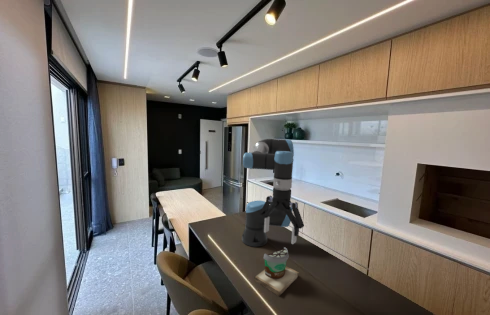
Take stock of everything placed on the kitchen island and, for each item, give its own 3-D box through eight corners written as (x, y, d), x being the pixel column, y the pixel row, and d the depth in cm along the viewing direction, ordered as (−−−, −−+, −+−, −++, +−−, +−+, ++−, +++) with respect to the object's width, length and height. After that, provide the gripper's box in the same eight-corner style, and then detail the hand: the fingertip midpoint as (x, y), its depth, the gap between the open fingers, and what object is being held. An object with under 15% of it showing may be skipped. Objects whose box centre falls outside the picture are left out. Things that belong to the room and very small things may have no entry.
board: (254, 281, 85) (254, 276, 85) (275, 264, 97) (275, 260, 97) (279, 296, 77) (279, 291, 77) (298, 276, 89) (298, 272, 89)
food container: (271, 284, 81) (272, 261, 80) (262, 275, 86) (263, 253, 85) (293, 275, 87) (295, 253, 86) (284, 267, 93) (285, 246, 92)
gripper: (253, 184, 89) (251, 229, 91) (306, 196, 73) (302, 251, 75) (263, 181, 95) (261, 224, 97) (314, 192, 78) (311, 244, 80)
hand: (279, 236), depth 86 cm, fingers open, 13 cm apart
